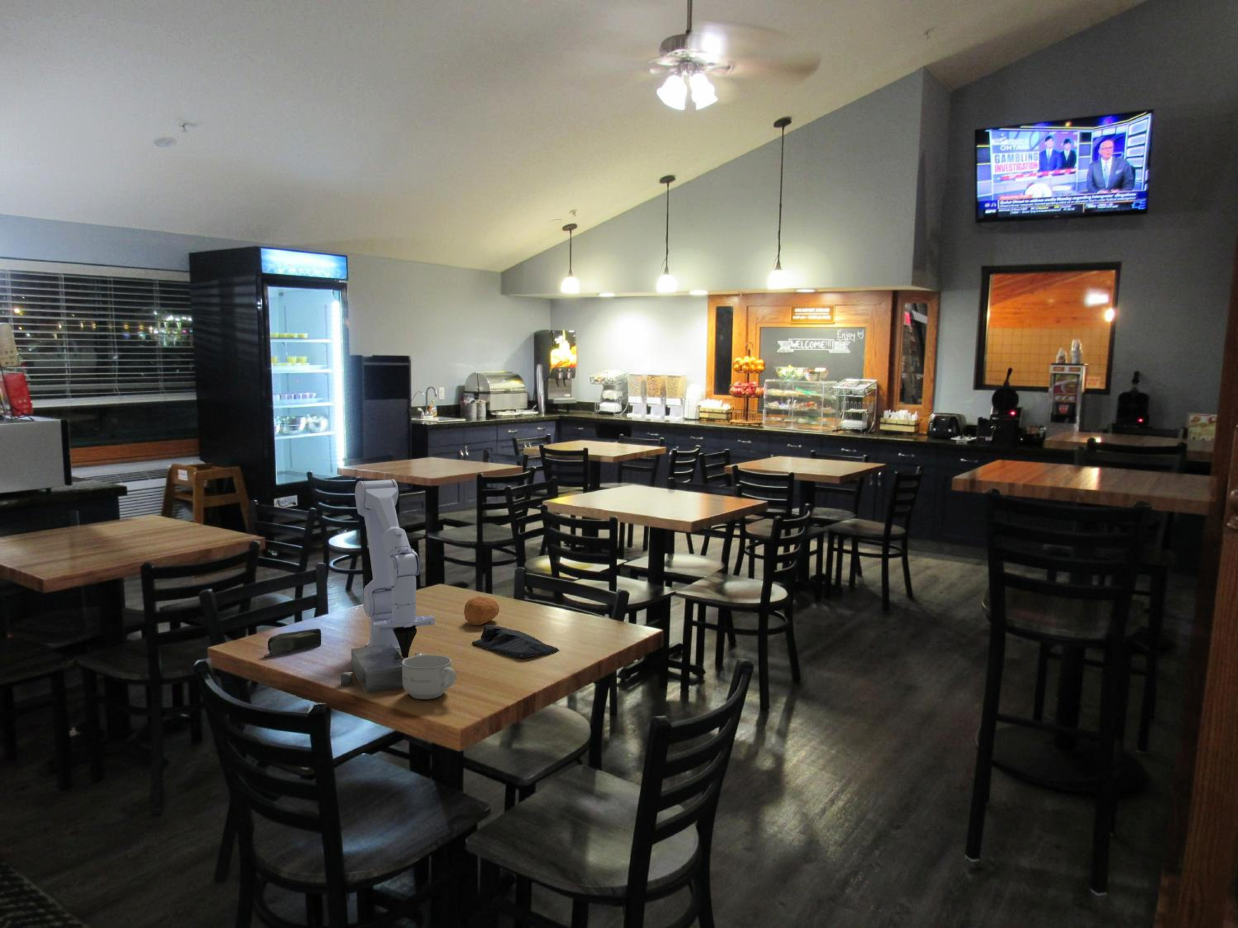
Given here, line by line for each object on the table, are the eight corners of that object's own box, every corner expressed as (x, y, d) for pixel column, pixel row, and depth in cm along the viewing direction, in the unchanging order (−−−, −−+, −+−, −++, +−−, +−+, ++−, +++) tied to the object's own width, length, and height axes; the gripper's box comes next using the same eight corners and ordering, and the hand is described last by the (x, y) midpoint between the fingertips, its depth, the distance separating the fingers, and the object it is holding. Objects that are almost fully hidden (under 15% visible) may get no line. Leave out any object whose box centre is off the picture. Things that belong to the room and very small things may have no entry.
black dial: (339, 682, 195) (339, 672, 195) (352, 681, 196) (352, 670, 196) (341, 686, 193) (341, 675, 192) (354, 684, 194) (354, 673, 194)
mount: (351, 668, 205) (351, 648, 204) (391, 662, 209) (391, 643, 208) (366, 693, 189) (366, 671, 188) (409, 686, 193) (408, 665, 193)
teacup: (393, 694, 189) (392, 659, 188) (435, 682, 196) (434, 648, 195) (426, 712, 179) (426, 675, 178) (469, 698, 186) (469, 663, 185)
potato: (455, 623, 243) (455, 598, 242) (484, 615, 252) (483, 590, 251) (478, 629, 237) (478, 603, 236) (506, 620, 246) (506, 595, 245)
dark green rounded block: (318, 626, 224) (261, 636, 213) (323, 628, 221) (265, 639, 211) (318, 644, 224) (261, 655, 213) (323, 647, 222) (266, 658, 211)
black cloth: (515, 665, 209) (515, 647, 209) (467, 644, 225) (467, 627, 225) (564, 652, 220) (564, 635, 219) (514, 633, 236) (514, 616, 235)
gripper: (376, 609, 199) (377, 665, 200) (437, 602, 205) (438, 657, 207) (371, 602, 205) (372, 656, 206) (430, 596, 211) (430, 648, 213)
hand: (404, 656), depth 207 cm, fingers closed
